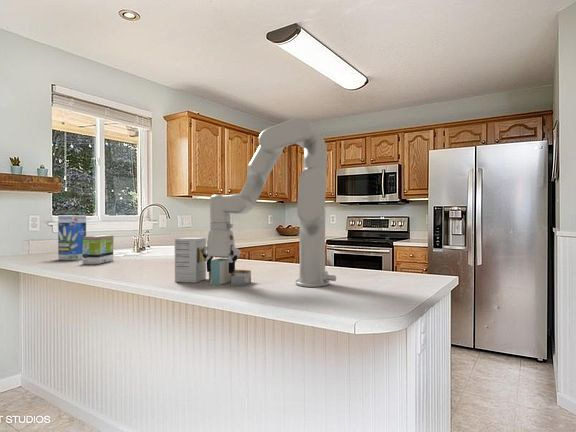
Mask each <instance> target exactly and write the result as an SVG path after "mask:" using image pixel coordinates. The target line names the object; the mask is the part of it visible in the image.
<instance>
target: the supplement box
mask: <svg viewBox="0 0 576 432" xmlns="http://www.w3.org/2000/svg"><path fill="white" fill-rule="evenodd" d="M206 246H207V238H206V237H182V238H181V237H179V238H174V282H176V283H193V284H194V283H199V282H202V281H203V280H206V279H207V261H205V258H204V257H203V254H202V252H201V249H203V248H205V247H206Z"/></svg>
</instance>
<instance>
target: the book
mask: <svg viewBox="0 0 576 432" xmlns="http://www.w3.org/2000/svg"><path fill="white" fill-rule="evenodd" d="M229 263H230V261H229V260H228V258H227V257H219V258H215V259H212V260H211V280H210V285H214V286H216V285H217V286H221V285H225V284H229V283H231V276H232V273H229Z"/></svg>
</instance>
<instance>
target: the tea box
mask: <svg viewBox="0 0 576 432" xmlns="http://www.w3.org/2000/svg"><path fill="white" fill-rule="evenodd" d="M81 260H82V264H84V265H100V264H103V263H108V262H113V261H114V235H110V234H105V235H104V234H103V235H101V234H99V235H96V234H95V235H86V236H84V237H83V257H82V259H81Z"/></svg>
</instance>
